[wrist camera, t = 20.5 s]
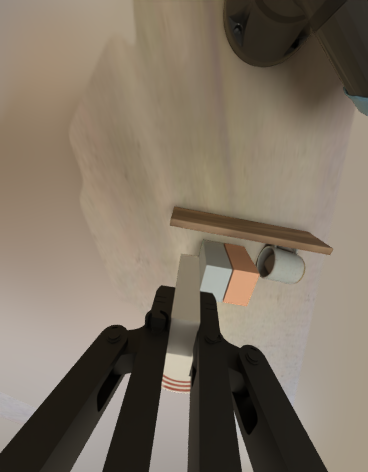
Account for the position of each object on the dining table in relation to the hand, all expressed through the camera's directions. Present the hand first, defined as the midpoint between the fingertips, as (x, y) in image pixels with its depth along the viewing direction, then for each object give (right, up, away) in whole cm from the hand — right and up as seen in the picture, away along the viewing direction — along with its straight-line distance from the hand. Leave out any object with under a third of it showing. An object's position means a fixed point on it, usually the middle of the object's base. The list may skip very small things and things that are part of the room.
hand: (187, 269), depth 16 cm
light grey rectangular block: (+6, -2, +33) cm, 34 cm away
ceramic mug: (+23, -1, +33) cm, 40 cm away
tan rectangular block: (+11, -3, +33) cm, 35 cm away
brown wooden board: (+13, +6, +30) cm, 33 cm away
